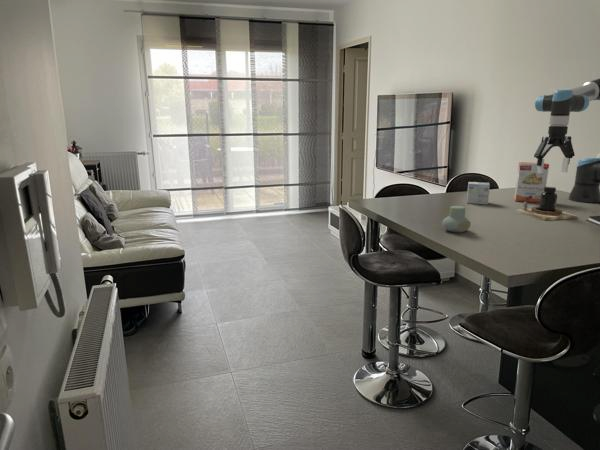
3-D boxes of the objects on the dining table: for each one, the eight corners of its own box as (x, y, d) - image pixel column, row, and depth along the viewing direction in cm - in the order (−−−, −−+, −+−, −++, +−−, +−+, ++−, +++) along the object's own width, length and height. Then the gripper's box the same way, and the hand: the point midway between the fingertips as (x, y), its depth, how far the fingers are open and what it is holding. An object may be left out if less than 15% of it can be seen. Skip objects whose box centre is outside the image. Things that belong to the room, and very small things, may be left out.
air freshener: (453, 235, 182) (455, 210, 179) (438, 230, 189) (440, 206, 186) (473, 231, 187) (475, 207, 184) (457, 227, 194) (459, 203, 191)
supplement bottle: (556, 214, 212) (560, 188, 209) (541, 213, 213) (544, 188, 210) (552, 211, 218) (555, 186, 215) (536, 210, 220) (540, 185, 217)
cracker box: (515, 201, 247) (520, 162, 242) (513, 199, 253) (518, 161, 247) (544, 203, 243) (549, 163, 238) (541, 201, 249) (547, 162, 244)
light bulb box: (487, 202, 245) (489, 182, 242) (488, 204, 239) (490, 184, 236) (466, 201, 248) (468, 181, 246) (466, 203, 242) (468, 183, 239)
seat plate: (547, 210, 227) (548, 199, 225) (577, 218, 210) (578, 207, 208) (516, 211, 222) (517, 201, 221) (544, 220, 205) (545, 209, 204)
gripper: (574, 124, 212) (567, 170, 218) (529, 125, 206) (523, 172, 211) (588, 125, 205) (580, 172, 211) (541, 126, 199) (535, 174, 204)
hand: (552, 172), depth 211 cm, fingers open, 13 cm apart
